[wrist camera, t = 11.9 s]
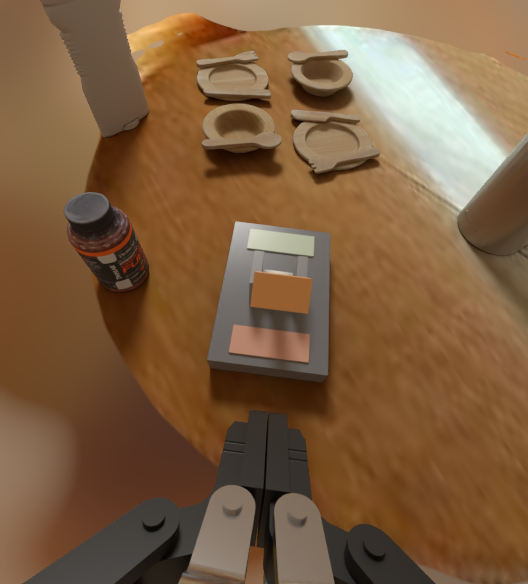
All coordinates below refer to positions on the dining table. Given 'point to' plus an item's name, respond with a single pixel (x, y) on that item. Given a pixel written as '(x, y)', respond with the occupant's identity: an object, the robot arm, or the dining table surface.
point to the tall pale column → (101, 60)
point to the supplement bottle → (106, 242)
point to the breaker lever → (281, 291)
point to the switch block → (267, 322)
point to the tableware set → (317, 125)
